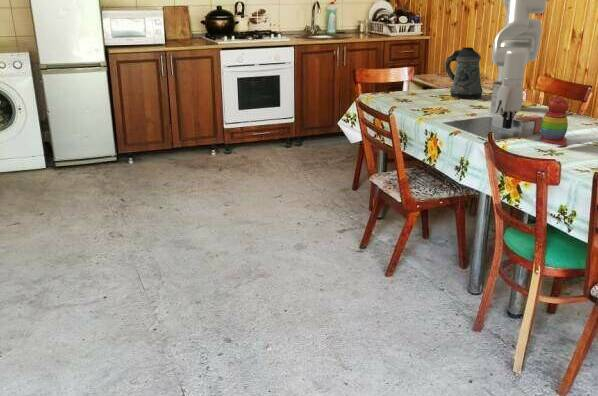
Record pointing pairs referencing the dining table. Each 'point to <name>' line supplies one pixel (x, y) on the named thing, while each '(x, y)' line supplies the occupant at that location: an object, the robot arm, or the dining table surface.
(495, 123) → the link
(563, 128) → the stacking bear
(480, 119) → the base plate
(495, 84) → the coffee box
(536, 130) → the keeper
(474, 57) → the beer stein
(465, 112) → the dining table surface
